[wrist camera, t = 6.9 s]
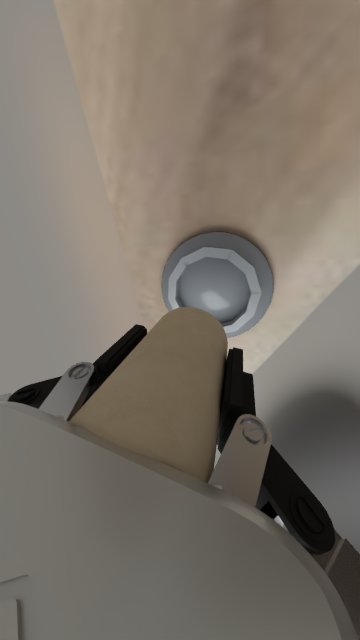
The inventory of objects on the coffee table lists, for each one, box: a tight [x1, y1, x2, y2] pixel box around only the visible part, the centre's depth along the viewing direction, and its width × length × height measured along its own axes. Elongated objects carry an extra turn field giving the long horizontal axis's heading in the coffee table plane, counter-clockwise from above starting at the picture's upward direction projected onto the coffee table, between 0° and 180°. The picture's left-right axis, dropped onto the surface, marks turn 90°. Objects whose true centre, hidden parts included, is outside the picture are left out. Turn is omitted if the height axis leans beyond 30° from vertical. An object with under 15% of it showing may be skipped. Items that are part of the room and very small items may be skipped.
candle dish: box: [162, 232, 273, 338], centre depth 21 cm, size 14×14×2 cm
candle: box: [69, 307, 228, 483], centre depth 9 cm, size 6×6×10 cm
